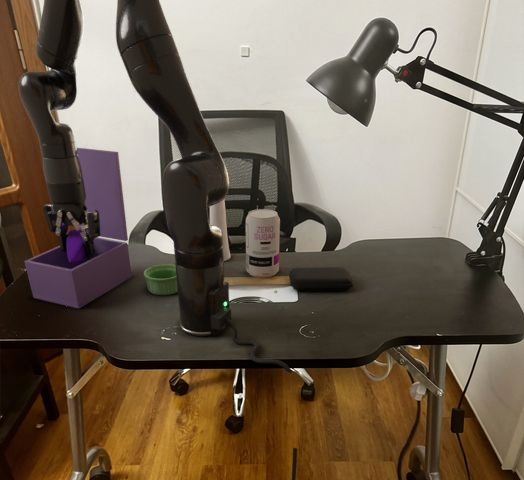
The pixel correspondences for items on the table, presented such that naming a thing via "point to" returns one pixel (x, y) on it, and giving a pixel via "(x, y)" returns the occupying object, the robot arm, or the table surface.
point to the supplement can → (262, 243)
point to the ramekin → (161, 279)
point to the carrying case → (320, 279)
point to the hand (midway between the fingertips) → (78, 252)
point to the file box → (78, 273)
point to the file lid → (104, 190)
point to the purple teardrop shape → (75, 247)
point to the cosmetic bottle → (220, 225)
